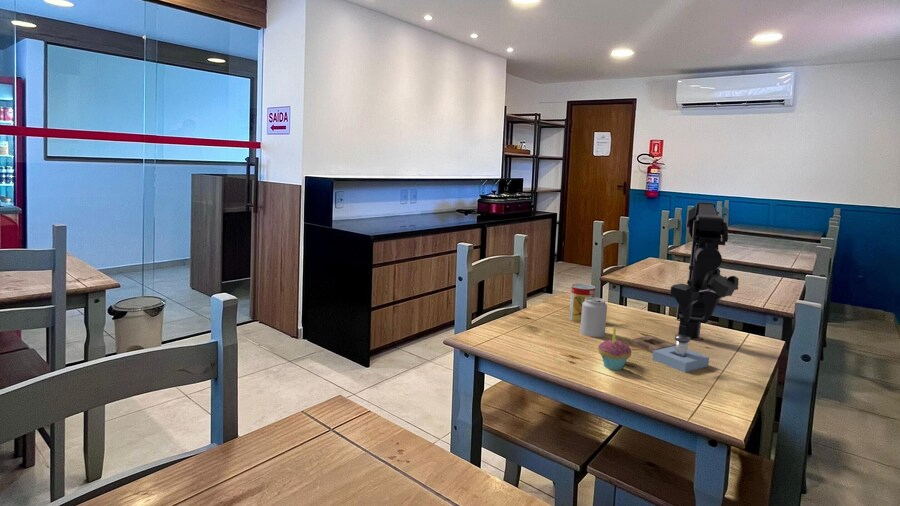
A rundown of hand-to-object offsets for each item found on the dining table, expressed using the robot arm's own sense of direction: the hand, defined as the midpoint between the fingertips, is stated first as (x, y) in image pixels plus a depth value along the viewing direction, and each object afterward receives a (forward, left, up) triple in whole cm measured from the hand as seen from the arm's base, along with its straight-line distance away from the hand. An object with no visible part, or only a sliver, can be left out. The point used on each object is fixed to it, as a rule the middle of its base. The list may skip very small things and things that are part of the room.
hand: (697, 319), depth 145 cm
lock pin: (+6, 0, -12) cm, 13 cm away
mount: (+2, -12, -12) cm, 17 cm away
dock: (+6, 0, -12) cm, 14 cm away
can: (+9, -29, -13) cm, 33 cm away
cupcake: (+23, -8, -13) cm, 27 cm away
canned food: (-1, -44, -13) cm, 46 cm away
